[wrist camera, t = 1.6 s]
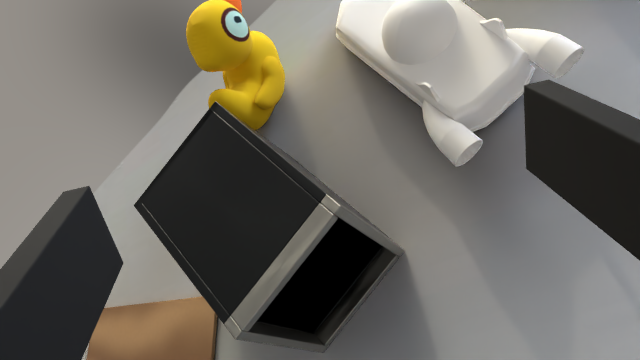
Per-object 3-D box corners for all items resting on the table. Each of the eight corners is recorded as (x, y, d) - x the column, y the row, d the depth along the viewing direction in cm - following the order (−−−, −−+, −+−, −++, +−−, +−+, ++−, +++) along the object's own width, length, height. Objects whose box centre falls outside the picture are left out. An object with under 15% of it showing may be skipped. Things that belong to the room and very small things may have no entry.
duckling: (255, 42, 49) (184, -27, 41) (302, 32, 47) (237, -45, 39) (234, 149, 46) (152, 95, 38) (284, 144, 43) (208, 85, 35)
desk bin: (405, 250, 35) (341, 205, 26) (323, 353, 35) (234, 339, 27) (291, 157, 42) (215, 100, 34) (225, 242, 42) (133, 205, 34)
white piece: (403, -49, 44) (378, -102, 40) (588, 72, 33) (583, 17, 28) (317, 36, 46) (283, -5, 41) (466, 181, 34) (442, 146, 30)
